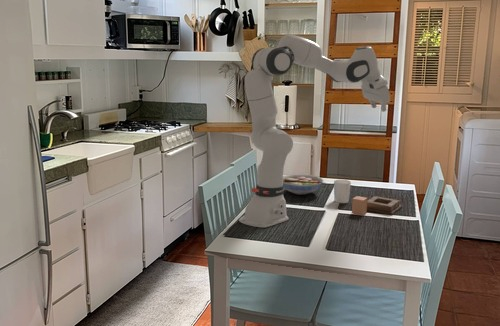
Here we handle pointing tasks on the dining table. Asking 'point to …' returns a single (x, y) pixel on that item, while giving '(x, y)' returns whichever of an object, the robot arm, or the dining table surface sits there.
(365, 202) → the terracotta block
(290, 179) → the ramen bowl
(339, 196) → the white cup
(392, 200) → the walnut socket base
